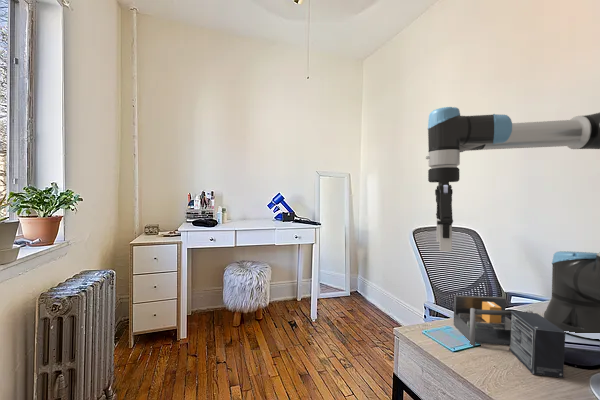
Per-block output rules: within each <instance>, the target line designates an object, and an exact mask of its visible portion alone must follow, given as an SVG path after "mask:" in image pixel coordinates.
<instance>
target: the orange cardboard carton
mask: <svg viewBox="0 0 600 400" xmlns="http://www.w3.org/2000/svg"><path fill="white" fill-rule="evenodd" d="M482 310H501V307H500V306H498V305H497V304H495V303H494V302H482ZM482 319H484V320H485V321H486V322H493V323H501V315H483V314H482Z"/></svg>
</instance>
